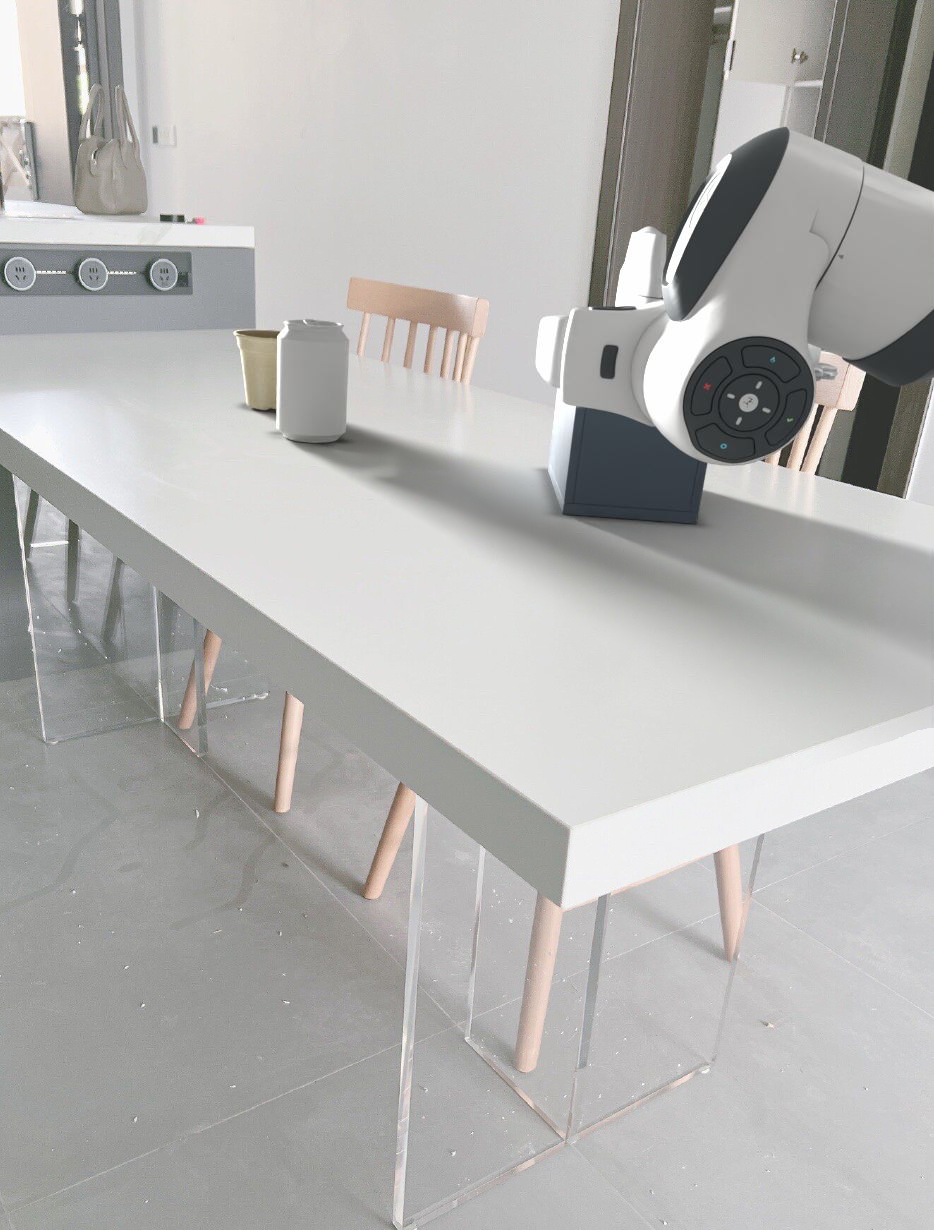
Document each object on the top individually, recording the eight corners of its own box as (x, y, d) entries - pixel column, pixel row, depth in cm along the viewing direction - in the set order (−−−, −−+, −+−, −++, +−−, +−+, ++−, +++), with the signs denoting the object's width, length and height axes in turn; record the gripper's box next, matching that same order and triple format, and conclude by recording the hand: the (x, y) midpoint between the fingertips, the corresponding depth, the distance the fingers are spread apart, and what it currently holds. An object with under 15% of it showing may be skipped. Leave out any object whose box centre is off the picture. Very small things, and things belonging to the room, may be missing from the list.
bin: (662, 478, 107) (677, 386, 104) (696, 524, 91) (715, 417, 88) (547, 470, 108) (558, 378, 104) (562, 514, 92) (575, 407, 88)
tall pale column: (578, 469, 104) (609, 223, 95) (618, 470, 105) (654, 226, 95) (607, 495, 95) (645, 225, 85) (651, 497, 95) (694, 228, 86)
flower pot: (321, 406, 134) (323, 334, 131) (295, 417, 126) (296, 340, 122) (251, 398, 136) (252, 327, 133) (221, 408, 128) (221, 333, 124)
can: (289, 445, 111) (291, 324, 106) (267, 431, 117) (268, 315, 112) (355, 443, 114) (360, 325, 109) (331, 429, 120) (334, 317, 115)
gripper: (857, 327, 71) (798, 311, 83) (550, 306, 71) (537, 293, 84) (835, 424, 73) (781, 393, 86) (539, 402, 74) (528, 375, 86)
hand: (658, 344), depth 85 cm, fingers open, 8 cm apart
